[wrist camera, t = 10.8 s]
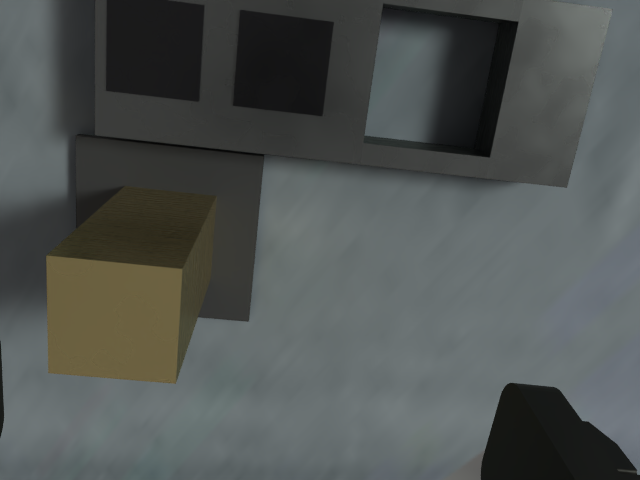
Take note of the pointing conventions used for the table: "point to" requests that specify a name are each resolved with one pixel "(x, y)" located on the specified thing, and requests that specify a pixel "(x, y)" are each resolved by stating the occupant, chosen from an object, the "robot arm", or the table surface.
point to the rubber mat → (189, 177)
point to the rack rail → (339, 81)
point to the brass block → (130, 286)
